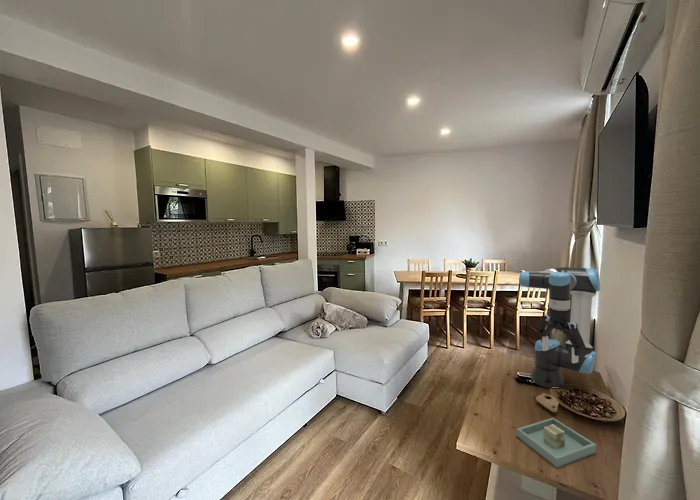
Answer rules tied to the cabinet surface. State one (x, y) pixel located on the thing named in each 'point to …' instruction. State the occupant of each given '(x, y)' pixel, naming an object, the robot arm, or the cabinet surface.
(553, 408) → the pottery oil lamp
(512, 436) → the cabinet surface
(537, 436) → the bin
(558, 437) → the olive block
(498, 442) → the cabinet surface
